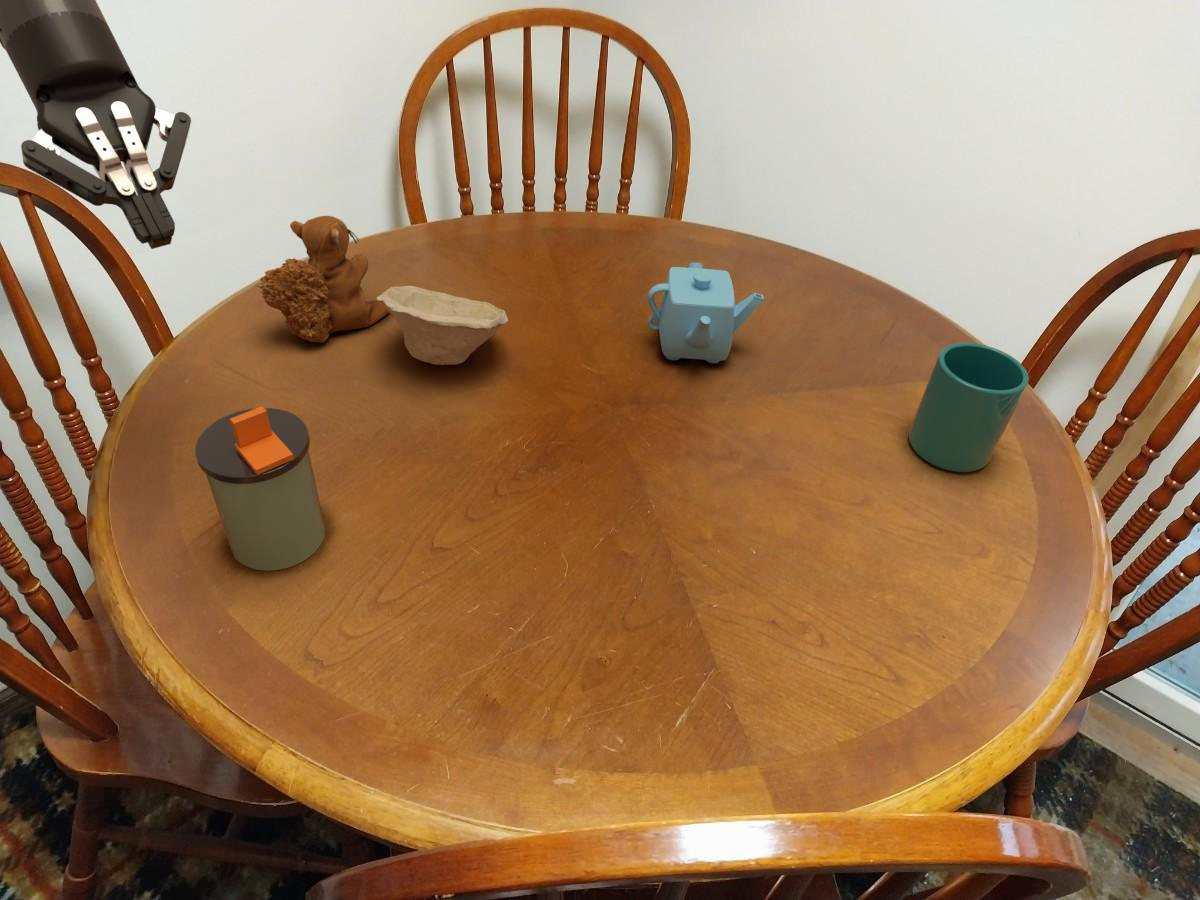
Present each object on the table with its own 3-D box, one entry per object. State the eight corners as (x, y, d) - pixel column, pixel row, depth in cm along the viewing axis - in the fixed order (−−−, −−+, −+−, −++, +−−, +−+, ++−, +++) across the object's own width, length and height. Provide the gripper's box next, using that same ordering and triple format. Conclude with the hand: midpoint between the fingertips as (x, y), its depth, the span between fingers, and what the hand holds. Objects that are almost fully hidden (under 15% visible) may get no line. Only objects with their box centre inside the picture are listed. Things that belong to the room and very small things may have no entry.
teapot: (642, 305, 114) (649, 236, 107) (745, 313, 114) (759, 245, 108) (642, 385, 100) (651, 312, 94) (760, 394, 101) (777, 321, 94)
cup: (973, 411, 101) (1009, 332, 93) (998, 479, 92) (1040, 397, 84) (896, 403, 101) (926, 323, 94) (914, 469, 92) (948, 387, 85)
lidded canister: (210, 530, 79) (176, 433, 71) (300, 489, 84) (278, 394, 76) (253, 589, 74) (222, 492, 66) (346, 542, 79) (327, 446, 71)
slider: (235, 449, 70) (226, 419, 68) (272, 434, 72) (264, 404, 70) (257, 475, 68) (248, 445, 66) (294, 459, 70) (287, 429, 68)
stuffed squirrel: (396, 310, 109) (386, 214, 101) (322, 364, 99) (303, 264, 91) (334, 288, 112) (319, 194, 104) (257, 338, 102) (233, 239, 94)
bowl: (529, 344, 105) (530, 272, 99) (470, 405, 96) (466, 330, 89) (427, 311, 110) (421, 240, 103) (360, 366, 100) (349, 291, 93)
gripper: (-47, 19, 59) (72, 249, 60) (148, -3, 66) (250, 203, 68) (-35, 77, 65) (73, 283, 67) (142, 51, 72) (236, 238, 74)
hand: (162, 242), depth 67 cm, fingers closed
